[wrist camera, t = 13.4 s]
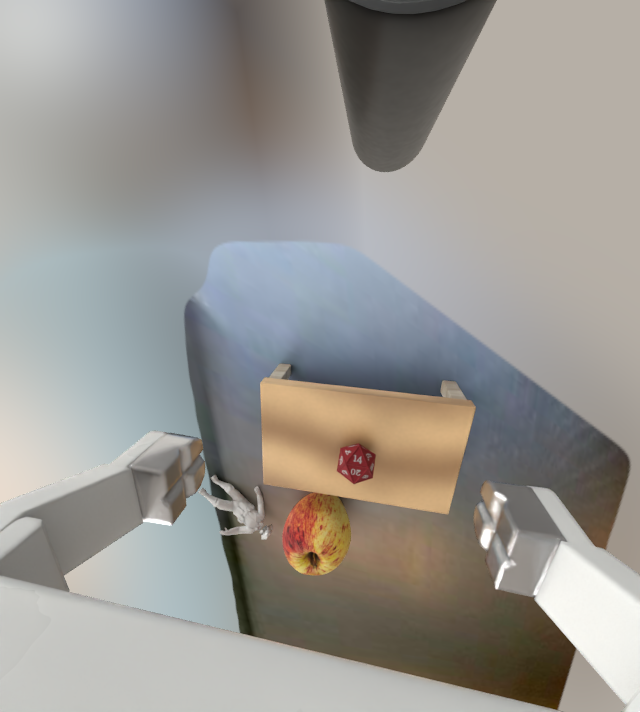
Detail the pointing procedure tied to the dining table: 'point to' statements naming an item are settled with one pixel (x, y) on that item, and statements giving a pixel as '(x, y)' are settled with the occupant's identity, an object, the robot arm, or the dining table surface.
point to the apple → (317, 534)
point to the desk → (364, 440)
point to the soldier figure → (241, 510)
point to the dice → (356, 463)
